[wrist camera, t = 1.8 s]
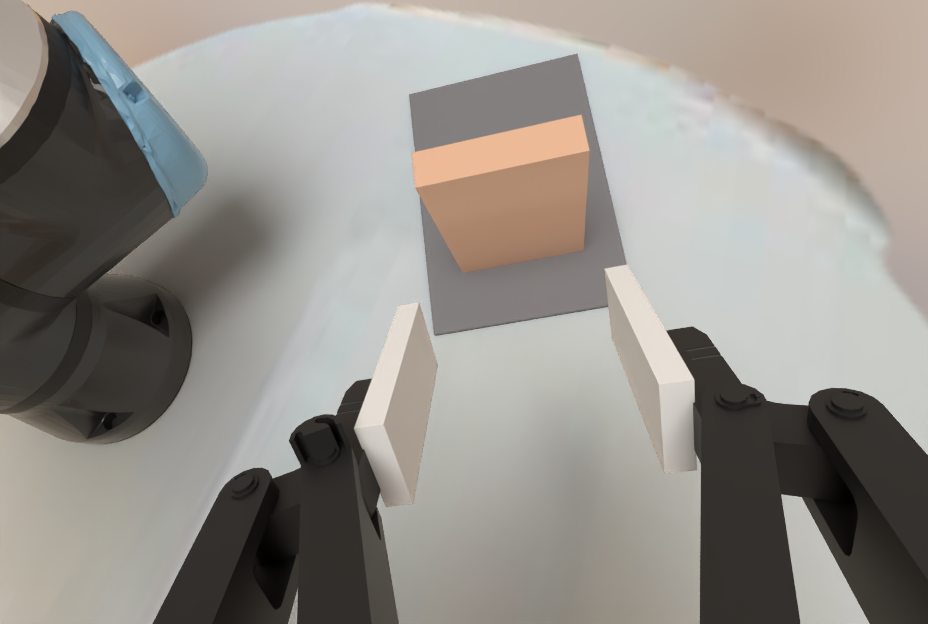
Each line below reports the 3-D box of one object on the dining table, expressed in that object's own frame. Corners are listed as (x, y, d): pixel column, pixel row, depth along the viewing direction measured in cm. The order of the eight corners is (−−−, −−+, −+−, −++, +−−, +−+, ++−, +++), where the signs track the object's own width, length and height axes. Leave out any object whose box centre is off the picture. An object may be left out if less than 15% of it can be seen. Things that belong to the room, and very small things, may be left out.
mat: (634, 302, 40) (635, 300, 40) (435, 335, 42) (433, 334, 42) (577, 56, 47) (577, 53, 47) (410, 97, 50) (409, 94, 49)
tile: (583, 250, 42) (589, 150, 28) (462, 273, 43) (415, 187, 30) (577, 220, 42) (580, 110, 29) (458, 243, 44) (411, 148, 31)
